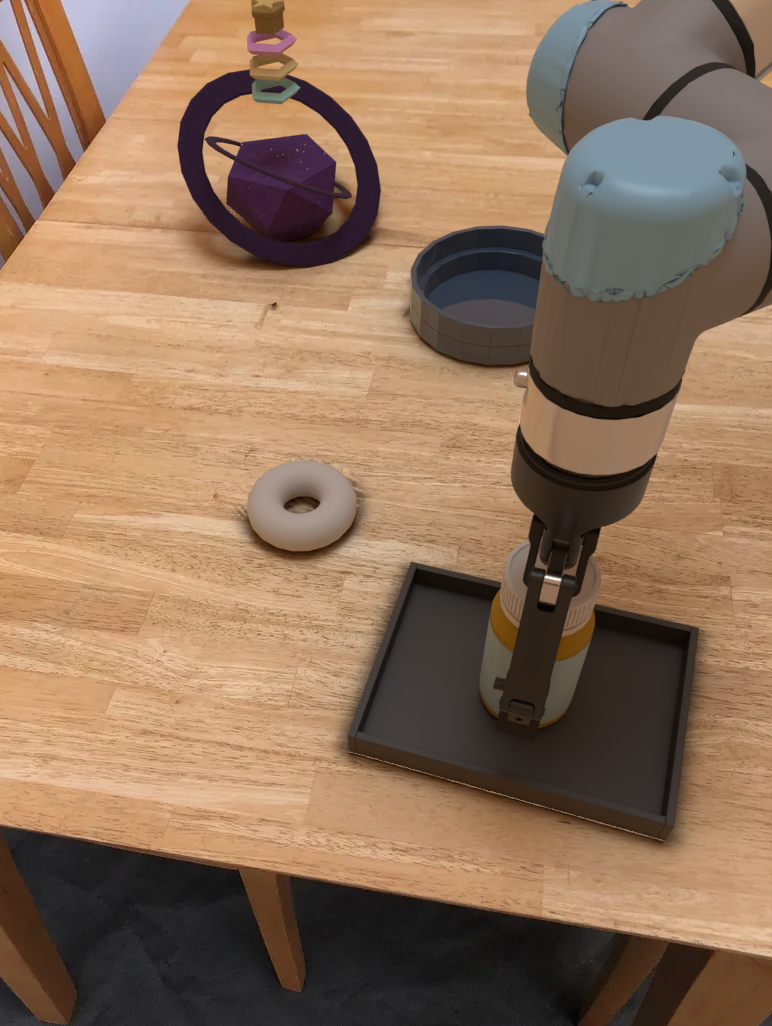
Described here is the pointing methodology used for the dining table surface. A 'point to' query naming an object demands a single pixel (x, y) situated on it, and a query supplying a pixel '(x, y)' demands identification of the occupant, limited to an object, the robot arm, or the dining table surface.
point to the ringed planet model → (278, 160)
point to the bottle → (507, 624)
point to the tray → (558, 747)
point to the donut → (303, 527)
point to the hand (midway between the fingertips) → (535, 651)
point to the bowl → (478, 293)
